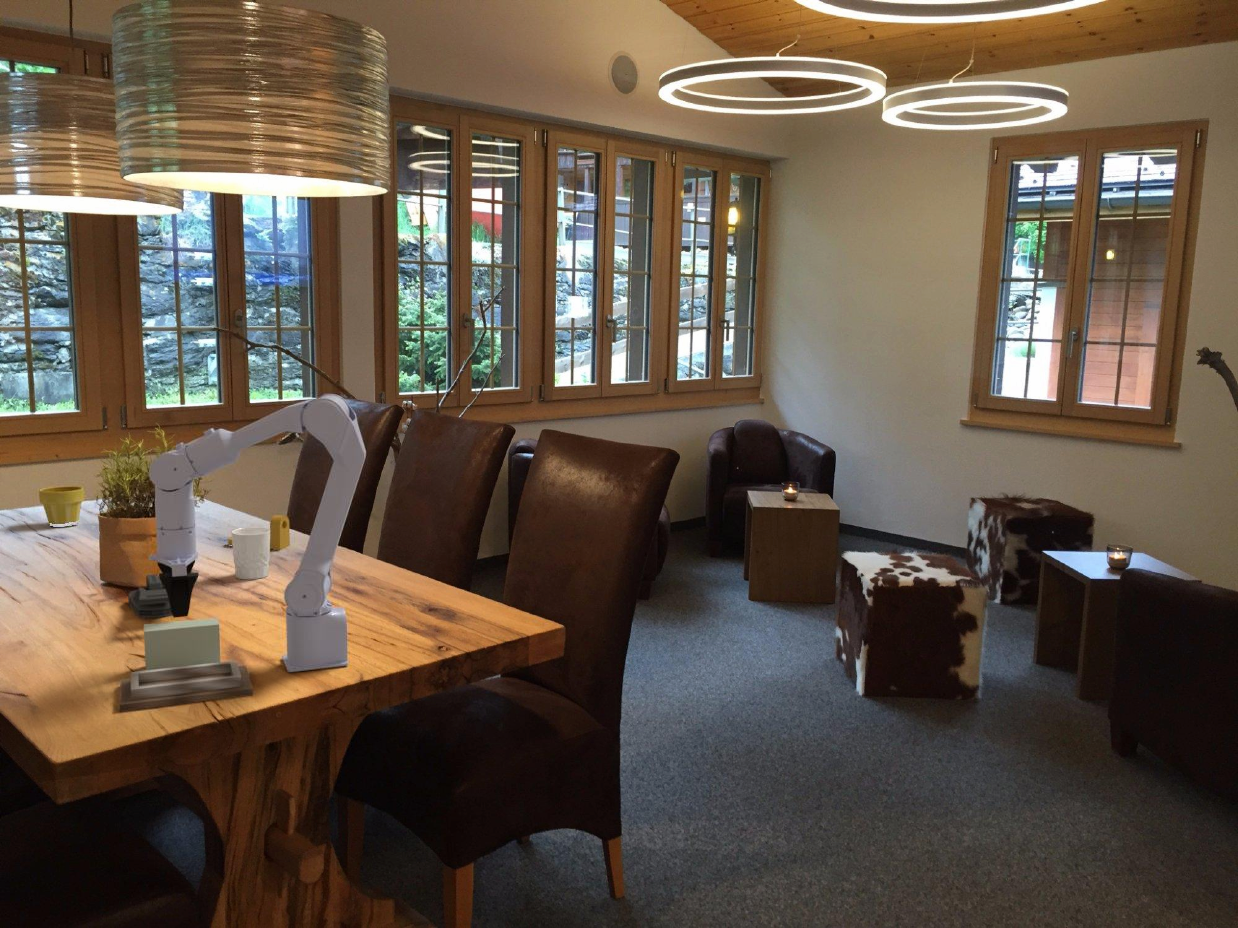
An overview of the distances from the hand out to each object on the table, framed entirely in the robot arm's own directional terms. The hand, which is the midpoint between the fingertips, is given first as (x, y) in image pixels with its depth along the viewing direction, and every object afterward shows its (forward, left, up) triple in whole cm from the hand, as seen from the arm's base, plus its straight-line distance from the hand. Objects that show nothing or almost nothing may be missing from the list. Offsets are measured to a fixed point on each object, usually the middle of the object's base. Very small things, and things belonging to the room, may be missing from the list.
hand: (179, 610), depth 164 cm
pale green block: (0, 0, -10) cm, 10 cm away
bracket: (-20, -85, -10) cm, 88 cm away
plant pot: (+24, -127, -10) cm, 130 cm away
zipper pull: (+3, -32, -10) cm, 34 cm away
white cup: (-16, -56, -10) cm, 59 cm away
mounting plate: (0, +12, -9) cm, 15 cm away
